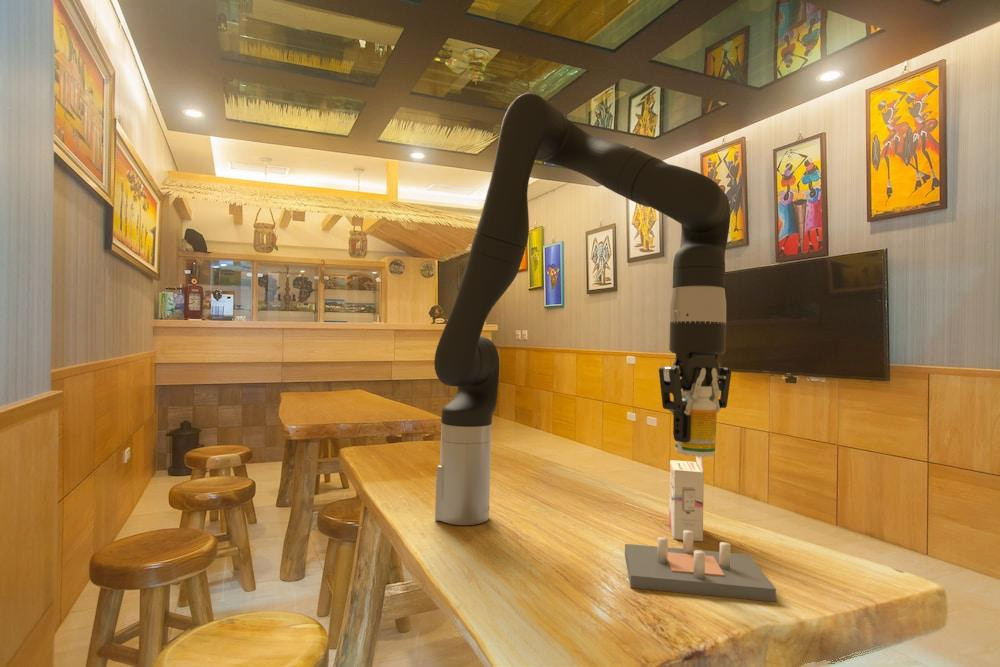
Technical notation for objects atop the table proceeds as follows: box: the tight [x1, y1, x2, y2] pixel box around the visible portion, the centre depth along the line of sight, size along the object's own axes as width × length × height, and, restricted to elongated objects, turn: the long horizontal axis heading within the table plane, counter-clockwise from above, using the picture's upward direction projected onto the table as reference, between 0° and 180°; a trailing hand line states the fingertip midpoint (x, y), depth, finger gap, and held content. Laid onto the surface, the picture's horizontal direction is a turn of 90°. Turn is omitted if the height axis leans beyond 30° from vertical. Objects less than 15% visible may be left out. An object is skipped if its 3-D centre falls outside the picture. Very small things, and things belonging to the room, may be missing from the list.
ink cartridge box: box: [668, 456, 705, 542], centre depth 96 cm, size 9×5×15 cm, turn 168°
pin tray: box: [624, 530, 777, 603], centre depth 77 cm, size 18×12×5 cm, turn 81°
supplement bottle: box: [674, 386, 717, 458], centre depth 78 cm, size 5×5×10 cm
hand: (695, 439), depth 78 cm, fingers closed on supplement bottle, 5 cm apart
